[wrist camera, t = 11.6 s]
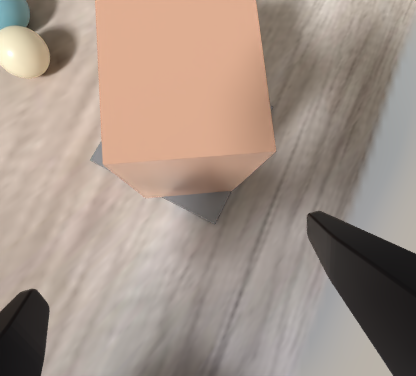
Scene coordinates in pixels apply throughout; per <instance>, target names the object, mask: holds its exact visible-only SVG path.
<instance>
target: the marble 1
mask: <svg viewBox="0 0 416 376" xmlns="http://www.w3.org/2000/svg"><path fill="white" fill-rule="evenodd" d="M29 20H30V10H29V6H28V4H27V2H26V0H0V30H1V29H3V28H5V27H8V26H14V25H16V26H23V27H27V25H28V23H29Z"/></svg>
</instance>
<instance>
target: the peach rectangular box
mask: <svg viewBox="0 0 416 376" xmlns="http://www.w3.org/2000/svg"><path fill="white" fill-rule="evenodd" d="M95 7H96V29H97V50H98V72H99V94H100V115H101V137H102V159H103V165H104V166H105V167H106V168H108V169H109V170H110V171H111V172H113V173H114V174H115V175H117V176H118V177H119V178H120V179H122V180H123V181H124V182H126V183H127V184H128V185H129V186H131V187H132V188H133V189H134V190H136V191H137V192H138V193H140V194H141V195H142V196H143V197H145V198H155V197H166V196H178V195H189V194H201V193H212V192H224V191H233V190H234V189H235V188H236V187H237V186H238V185H239V184H241V183H242V182H243V181H244V180H245V179H246V178H247V177H248V176H249V175H251V174H252V173H253V172H254V171H255V170H256V169H257V168H258V167H259V166H261V165H262V164H263V163H264V162H265V161H266V160H267V159H268V158H269V157H271V156H272V155H273V154H274V153H275V152H276V146H275V139H274V131H273V124H272V116H271V109H270V101H269V94H268V86H267V79H266V72H265V64H264V57H263V49H262V42H261V34H260V27H259V19H258V12H257V4H256V0H95Z"/></svg>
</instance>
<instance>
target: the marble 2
mask: <svg viewBox="0 0 416 376" xmlns="http://www.w3.org/2000/svg"><path fill="white" fill-rule="evenodd" d="M49 63H50V53H49V49H48V47H47V45H46V43H45V42H44V40H43V39H42V38H41V37H40V36H39V35H38V34H37V33H36V32H34V31H32V30H31V29H29V28H26V27H23V26H16V25H14V26H8V27H5V28H3V29H1V30H0V65H1V66H2V67H3V68H4V69H5V70H6V71H8V72H9V73H11V74H13V75H15V76H17V77H20V78H28V79H29V78H35V77H38V76H40V75H42V74H43V73H44V72H45V71H46V70H47V68H48V66H49Z"/></svg>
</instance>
